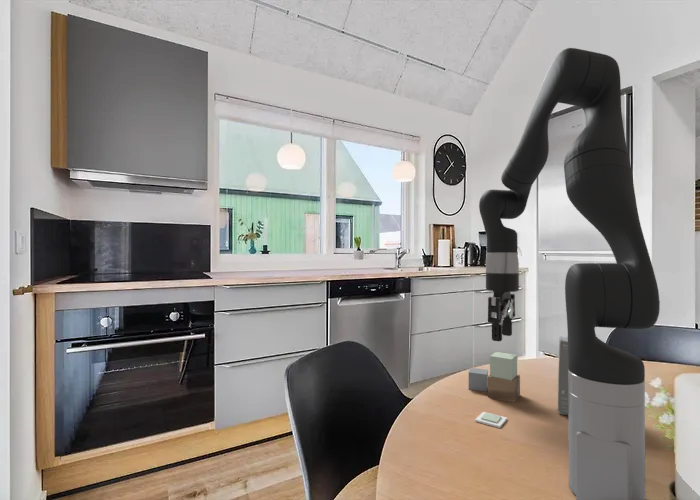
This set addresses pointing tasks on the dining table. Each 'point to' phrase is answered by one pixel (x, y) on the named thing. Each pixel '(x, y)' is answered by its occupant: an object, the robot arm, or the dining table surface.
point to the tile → (491, 419)
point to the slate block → (478, 379)
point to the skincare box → (563, 376)
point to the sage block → (503, 366)
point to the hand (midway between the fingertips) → (502, 338)
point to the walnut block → (504, 388)
